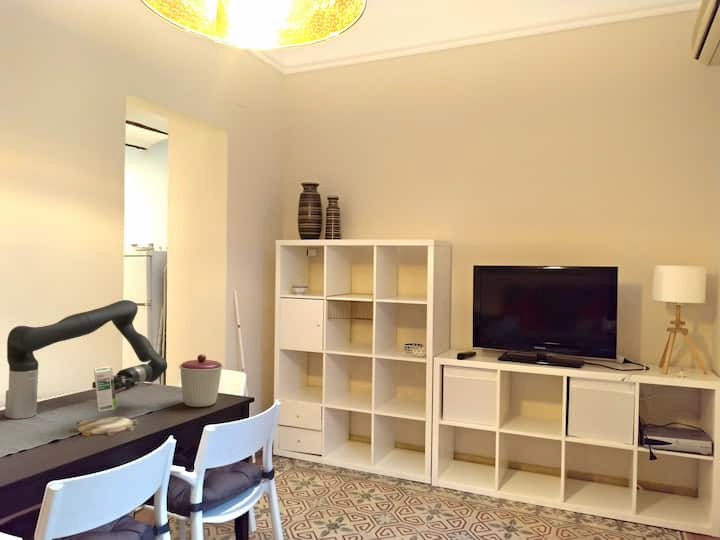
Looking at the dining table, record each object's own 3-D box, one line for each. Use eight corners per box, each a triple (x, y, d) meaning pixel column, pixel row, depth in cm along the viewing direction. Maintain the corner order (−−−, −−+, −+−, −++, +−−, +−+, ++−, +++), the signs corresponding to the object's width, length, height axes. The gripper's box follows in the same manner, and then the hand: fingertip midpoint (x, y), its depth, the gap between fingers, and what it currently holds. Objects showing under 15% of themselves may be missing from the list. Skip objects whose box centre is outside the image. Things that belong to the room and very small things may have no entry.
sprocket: (56, 432, 188) (56, 428, 188) (97, 416, 209) (98, 412, 209) (113, 438, 184) (113, 435, 184) (149, 421, 205) (150, 418, 205)
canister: (174, 400, 237) (176, 351, 237) (217, 398, 245) (219, 350, 245) (180, 411, 221) (182, 358, 221) (225, 408, 229) (227, 357, 229)
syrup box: (98, 412, 193) (94, 372, 190) (97, 406, 198) (93, 367, 196) (116, 409, 195) (112, 369, 193) (114, 403, 200) (111, 364, 198)
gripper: (114, 365, 212) (86, 374, 196) (148, 368, 210) (122, 377, 194) (114, 385, 212) (85, 395, 196) (147, 388, 210) (122, 398, 194)
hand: (104, 386), depth 195 cm, fingers closed on syrup box, 8 cm apart
